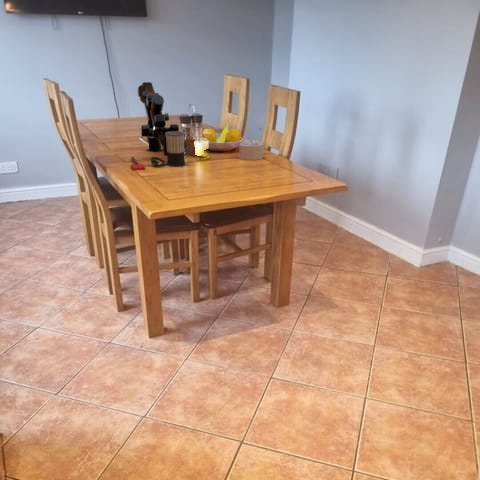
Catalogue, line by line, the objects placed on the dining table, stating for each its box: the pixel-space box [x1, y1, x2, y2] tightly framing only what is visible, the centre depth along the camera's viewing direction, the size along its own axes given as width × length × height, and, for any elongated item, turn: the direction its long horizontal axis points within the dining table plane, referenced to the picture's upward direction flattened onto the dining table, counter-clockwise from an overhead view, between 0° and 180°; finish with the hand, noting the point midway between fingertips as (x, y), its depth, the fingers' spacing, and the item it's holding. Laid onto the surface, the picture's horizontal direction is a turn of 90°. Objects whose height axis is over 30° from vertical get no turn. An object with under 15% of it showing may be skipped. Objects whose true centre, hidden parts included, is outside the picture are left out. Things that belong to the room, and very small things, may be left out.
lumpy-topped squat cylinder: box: [238, 138, 265, 161], centre depth 240 cm, size 10×13×9 cm
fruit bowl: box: [201, 123, 245, 152], centre depth 257 cm, size 28×27×11 cm
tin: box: [184, 137, 201, 158], centre depth 242 cm, size 15×3×8 cm, turn 47°
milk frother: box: [150, 131, 186, 167], centre depth 222 cm, size 14×16×15 cm
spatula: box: [130, 156, 146, 171], centre depth 224 cm, size 21×6×1 cm, turn 19°
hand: (162, 144), depth 228 cm, fingers closed
